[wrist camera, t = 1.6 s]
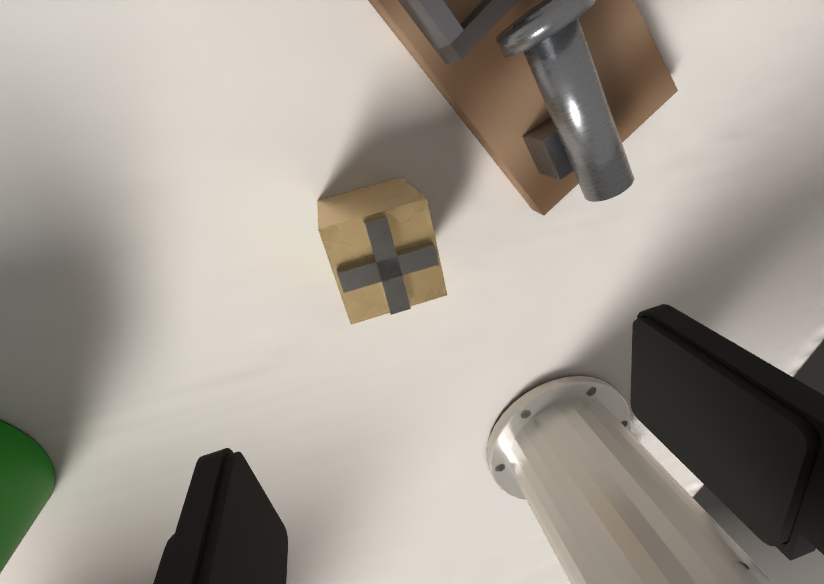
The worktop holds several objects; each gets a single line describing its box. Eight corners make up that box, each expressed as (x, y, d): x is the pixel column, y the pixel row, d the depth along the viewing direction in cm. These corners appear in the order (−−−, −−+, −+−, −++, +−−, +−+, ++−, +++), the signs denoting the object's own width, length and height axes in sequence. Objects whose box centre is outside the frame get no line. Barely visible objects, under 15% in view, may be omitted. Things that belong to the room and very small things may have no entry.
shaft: (461, 49, 22) (519, 29, 16) (525, 2, 22) (610, -37, 16) (530, 191, 26) (598, 219, 20) (585, 152, 26) (671, 169, 20)
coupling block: (401, 176, 24) (430, 201, 18) (420, 255, 26) (450, 299, 20) (317, 200, 24) (318, 233, 18) (343, 278, 26) (351, 330, 20)
